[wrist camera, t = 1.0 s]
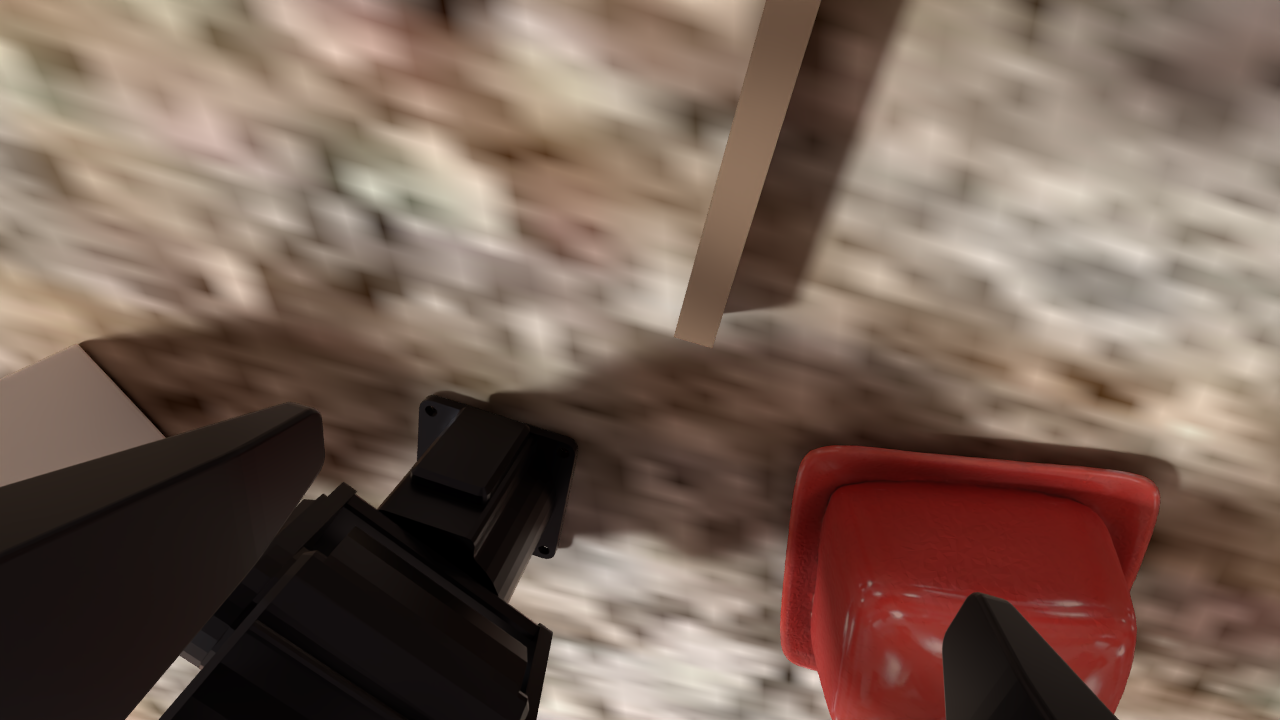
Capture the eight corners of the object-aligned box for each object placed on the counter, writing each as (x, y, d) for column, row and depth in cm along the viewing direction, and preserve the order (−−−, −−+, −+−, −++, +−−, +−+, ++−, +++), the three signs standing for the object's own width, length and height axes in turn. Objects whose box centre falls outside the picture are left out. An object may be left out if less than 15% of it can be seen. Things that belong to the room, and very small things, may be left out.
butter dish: (1164, 452, 21) (1360, 694, 13) (1064, 683, 26) (1165, 944, 19) (797, 419, 23) (796, 610, 16) (775, 637, 29) (767, 854, 21)
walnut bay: (1389, 509, 20) (1460, 570, 18) (686, 304, 22) (673, 337, 19) (2112, -142, 12) (2411, -175, 9) (877, -384, 13) (892, -458, 11)
